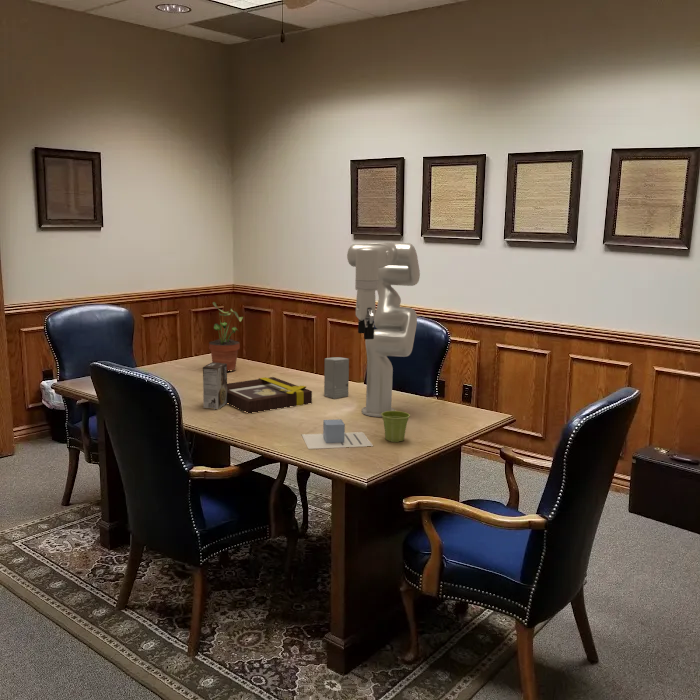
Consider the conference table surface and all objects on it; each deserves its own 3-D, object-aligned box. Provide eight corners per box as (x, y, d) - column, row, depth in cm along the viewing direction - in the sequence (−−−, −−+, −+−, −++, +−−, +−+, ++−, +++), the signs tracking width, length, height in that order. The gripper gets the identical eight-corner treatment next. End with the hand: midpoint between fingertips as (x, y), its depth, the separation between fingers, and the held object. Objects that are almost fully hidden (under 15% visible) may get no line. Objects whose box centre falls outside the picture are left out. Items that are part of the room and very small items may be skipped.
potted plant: (226, 375, 325) (226, 298, 318) (202, 371, 333) (201, 295, 326) (249, 370, 338) (249, 295, 331) (225, 365, 346) (225, 293, 339)
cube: (323, 437, 237) (323, 419, 236) (341, 436, 238) (341, 419, 237) (326, 443, 231) (326, 425, 230) (344, 442, 233) (344, 424, 231)
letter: (301, 435, 240) (301, 434, 240) (362, 432, 244) (362, 431, 244) (308, 449, 226) (308, 448, 226) (373, 446, 230) (373, 445, 230)
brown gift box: (273, 374, 302) (314, 388, 279) (273, 389, 303) (313, 405, 280) (212, 382, 285) (250, 398, 262) (212, 398, 286) (250, 416, 263)
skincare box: (333, 399, 288) (334, 360, 285) (322, 395, 293) (323, 357, 290) (349, 396, 293) (350, 358, 290) (338, 392, 298) (339, 355, 296)
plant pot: (381, 434, 243) (382, 409, 241) (409, 436, 242) (410, 411, 240) (379, 443, 234) (380, 417, 232) (408, 444, 233) (409, 418, 231)
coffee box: (212, 402, 278) (211, 361, 275) (227, 403, 277) (227, 363, 274) (202, 408, 269) (202, 366, 266) (218, 410, 268) (218, 367, 265)
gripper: (350, 281, 244) (349, 331, 248) (360, 289, 227) (360, 341, 231) (372, 281, 245) (371, 330, 249) (384, 288, 229) (382, 341, 233)
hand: (365, 336), depth 240 cm, fingers open, 9 cm apart
